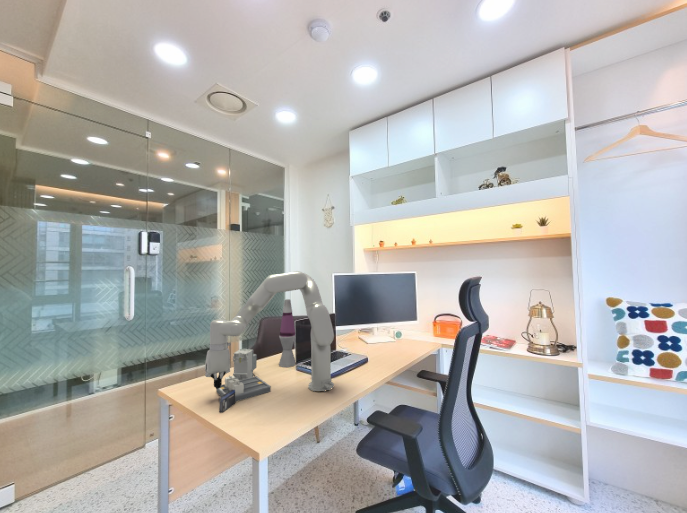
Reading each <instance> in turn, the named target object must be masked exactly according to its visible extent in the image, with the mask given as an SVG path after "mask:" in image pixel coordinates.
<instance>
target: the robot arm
mask: <svg viewBox="0 0 687 513" xmlns="http://www.w3.org/2000/svg"><path fill="white" fill-rule="evenodd" d="M297 290H299V291H300V293H301V294H302V298H303V301H304V306H305V311H306V316H307V317H308V319H309V322H310V327H311V329H310V345H311V346H310V347H311V352H310V354H311V357H310V358H311V360H310V362H311V363H310V364H311V366H310V367H311V374H310V375H311V382H309V383H308V389H309V390H310V391H312V390H313V391H312V392H315V391H324V392H326V391H325V390H329V391H331V390H332V389H334V387H335V386H334V385H335V384H334V382H333V381H332V378H331V377H332V376H331V371H332V369H331V344H332V343H333V341H334V339H335V338H334V337H335V334H334V328H333V324H332V320H331V316H330V312H329V310H328V308H327V306H326V305H324V303H323V301H322V297H321V293H320V289H319V286H318V284H317V282H316V281H315V280H314V279H313V277H312V276H310V275H308V274H306V273H305V272H302V271H298V270H296V271H292V272H291V271H290V272H286V273H277V274H269V275H268V276H267V277H266V278H265V279H264V280H263V281H262V282H261V284H259V285H258V287H257V288H256V289H255V290H254V291H253V293H251V295H249V298H248V299H247V301H246V302H245V303H244V305H243V306H242V307H241V308H240V310H239V311H238V312H237V313H236V315H235V316H234V317H233V318H232V319H231V320H227V319H224V318H220V319H219V318H218V319H213V320H212V321H211V322H210V324H209V327H210V328H209V350H207V352H206V357H205V365H204V371H205V375H204V376H205V377H206V378H212V379H213V387H214V388H215V389H218V388H220V386H221V385H223V380H222V379H224V376H225V375H226V374H229V373H231V353H230V348H229V346H231V344H232V343H231V342H229V341H228V338H229V337H238V336H241V335H242V334H243V333H244V331H245V329H246V328H247V326H248V325H249V324H250V323H251V321H252V320H253V319H254V318H255V317H256V316H257V315H258V314H259V313H261V311H263V310H264V309H265V308H266V306H267V305H268V304H269V303H270V301H271V300H272V299H273V298H274V296H276V294H277V293H279V294H280V293H286V292H293V291H297ZM333 386H334V387H333ZM331 388H332V389H331ZM330 389H331V390H330Z"/></svg>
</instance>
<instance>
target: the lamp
mask: <svg viewBox="0 0 687 513" xmlns="http://www.w3.org/2000/svg"><path fill="white" fill-rule="evenodd" d="M283 301H284V302H283V307H282V308H283V309H282V315H281V316H282V317H281V322H280V329H279V330H280V331H279V335H278V337H279V340H280V344H281V347H282V352H281V356H280V359H279V362H278V366H279V367H280V366H281V368H291V367H290V366H292V367H294V365H295V361H296V358H295V354H294V351H293V346H294V343H295V340H296V337H295V334H296V330H295V329H296V327H295V322H294V321H295V320H294V316H293V309H292V301H291V299H288V298H287V299H284V300H283ZM295 366H296V365H295Z"/></svg>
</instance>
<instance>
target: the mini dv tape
mask: <svg viewBox="0 0 687 513" xmlns="http://www.w3.org/2000/svg"><path fill="white" fill-rule="evenodd" d="M218 400H219V401H218V402H219V407H218V408H219V409H218V410H219V413H224V412H226V411H227V410H229V408H231V407H232V406H234V405H235V404H236V402H235V390H231V391H229V392H227V393H226V394H224V395H223V396H219V399H218Z"/></svg>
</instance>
